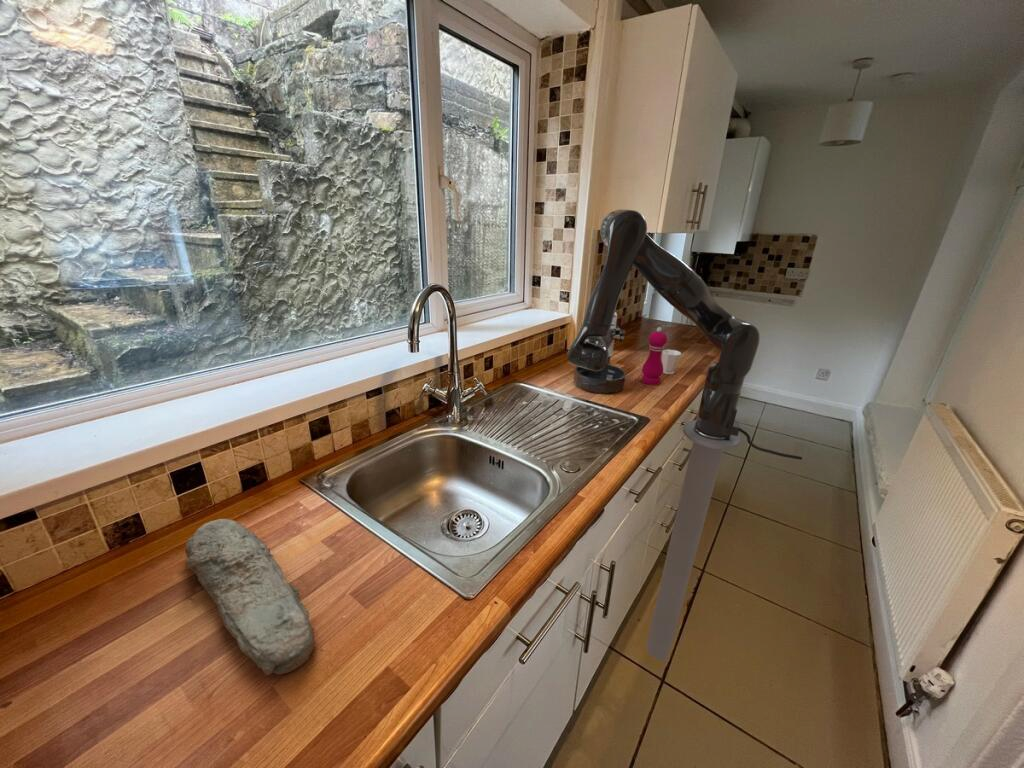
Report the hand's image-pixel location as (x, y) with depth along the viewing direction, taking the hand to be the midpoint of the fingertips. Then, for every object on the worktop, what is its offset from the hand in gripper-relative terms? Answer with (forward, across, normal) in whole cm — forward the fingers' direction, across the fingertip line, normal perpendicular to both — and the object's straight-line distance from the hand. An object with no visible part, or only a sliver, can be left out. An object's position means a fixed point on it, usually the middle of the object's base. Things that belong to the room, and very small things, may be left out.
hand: (605, 328), depth 136 cm
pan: (-2, 0, +20) cm, 20 cm away
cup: (+23, -23, +20) cm, 39 cm away
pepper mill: (+9, -17, +20) cm, 28 cm away
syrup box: (-2, 0, +9) cm, 9 cm away
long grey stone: (-107, +36, +21) cm, 115 cm away
